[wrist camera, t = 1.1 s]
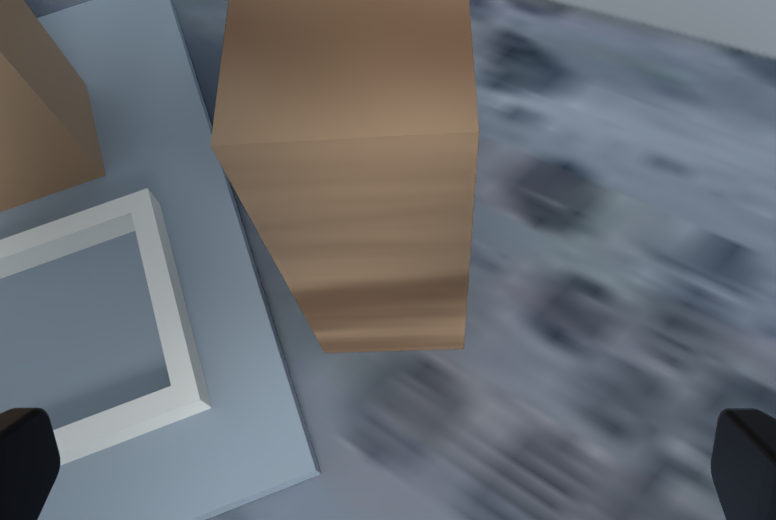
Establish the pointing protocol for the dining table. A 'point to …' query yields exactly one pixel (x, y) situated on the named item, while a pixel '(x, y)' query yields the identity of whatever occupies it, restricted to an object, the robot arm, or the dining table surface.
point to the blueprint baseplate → (132, 275)
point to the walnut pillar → (357, 160)
